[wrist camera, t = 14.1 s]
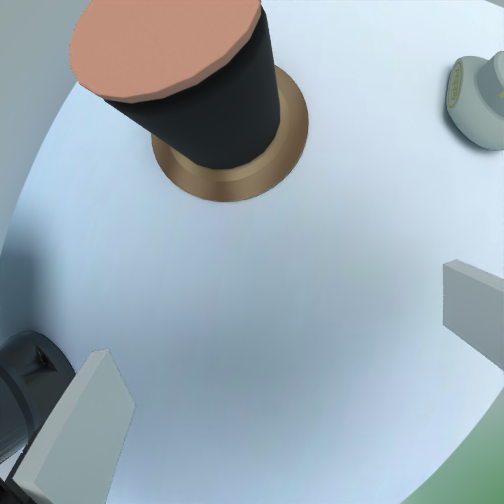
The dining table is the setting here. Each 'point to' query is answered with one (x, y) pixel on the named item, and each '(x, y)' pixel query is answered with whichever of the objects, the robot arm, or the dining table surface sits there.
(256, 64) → the coffee jar
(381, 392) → the dining table surface
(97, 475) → the robot arm
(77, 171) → the dining table surface
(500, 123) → the air freshener
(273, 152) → the trivet
